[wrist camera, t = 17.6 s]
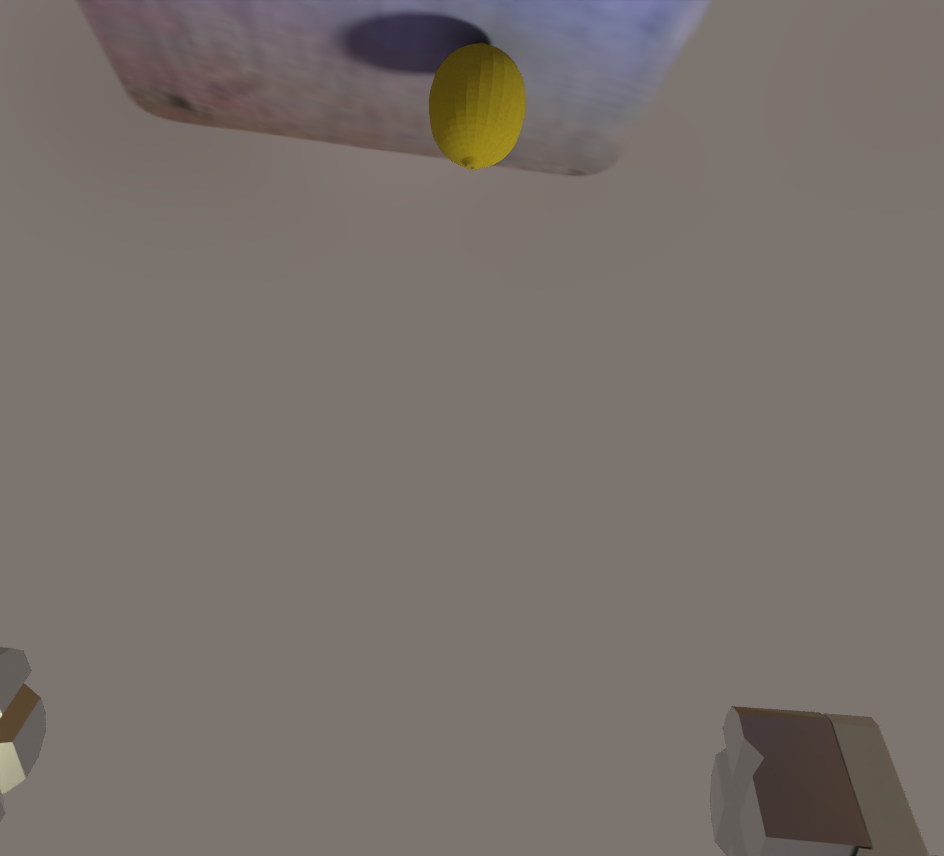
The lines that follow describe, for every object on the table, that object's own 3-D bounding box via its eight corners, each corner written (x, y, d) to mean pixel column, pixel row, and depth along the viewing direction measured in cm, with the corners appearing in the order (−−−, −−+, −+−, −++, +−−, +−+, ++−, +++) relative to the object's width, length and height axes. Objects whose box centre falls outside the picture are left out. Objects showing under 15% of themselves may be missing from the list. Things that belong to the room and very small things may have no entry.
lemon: (495, 85, 55) (486, 201, 53) (418, 49, 52) (405, 171, 50) (548, 38, 50) (540, 164, 49) (466, -3, 48) (454, 129, 46)
